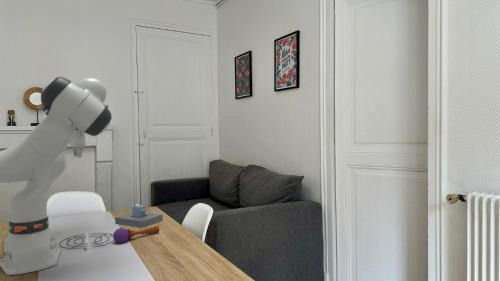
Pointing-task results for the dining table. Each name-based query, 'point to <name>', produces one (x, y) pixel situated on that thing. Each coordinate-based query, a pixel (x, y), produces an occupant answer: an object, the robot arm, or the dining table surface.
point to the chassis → (138, 219)
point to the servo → (138, 211)
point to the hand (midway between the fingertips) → (77, 156)
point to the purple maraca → (131, 233)
